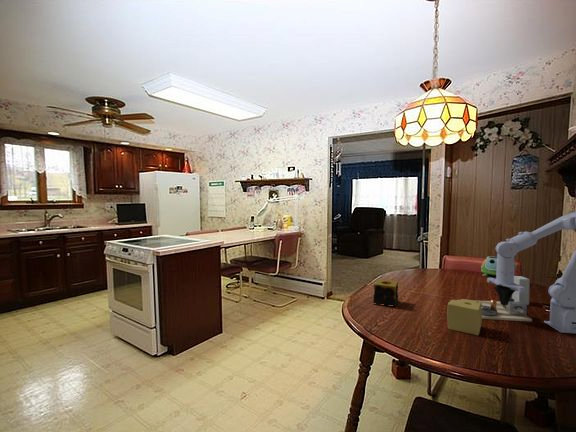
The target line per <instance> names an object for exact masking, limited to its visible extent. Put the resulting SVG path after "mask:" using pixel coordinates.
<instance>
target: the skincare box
mask: <svg viewBox="0 0 576 432" xmlns="http://www.w3.org/2000/svg"><path fill="white" fill-rule="evenodd" d="M514 283H515V284H517V285H520V286H522V287H525V292H522V293H520V292H518V291H515V292H514V293H513V294H512V296H511V298H513V299H514V302H523V303H525V304H527V306H529V305H530V279H529V278H527V277H524V276H521V275H520V276H519V275H514Z"/></svg>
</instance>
